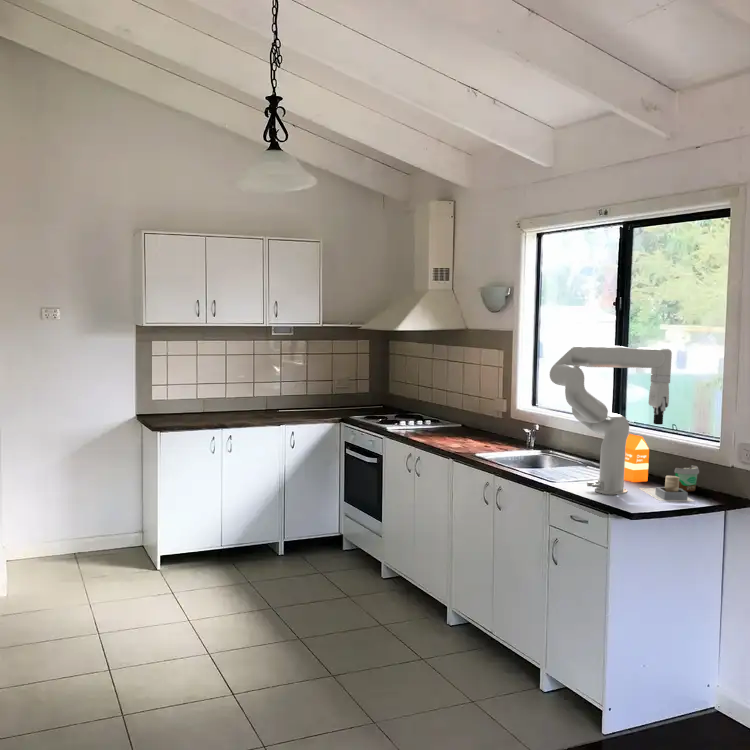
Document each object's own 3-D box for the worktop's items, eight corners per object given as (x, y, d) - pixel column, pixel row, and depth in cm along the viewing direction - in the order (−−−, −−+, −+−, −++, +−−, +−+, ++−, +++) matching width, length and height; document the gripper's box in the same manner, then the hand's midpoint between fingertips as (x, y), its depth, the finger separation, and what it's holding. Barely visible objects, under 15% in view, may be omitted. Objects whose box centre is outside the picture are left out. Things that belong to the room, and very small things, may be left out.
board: (659, 502, 315) (659, 500, 315) (638, 489, 336) (638, 488, 336) (695, 503, 315) (695, 501, 315) (672, 490, 337) (672, 488, 337)
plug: (667, 498, 318) (668, 478, 317) (662, 495, 323) (663, 475, 322) (680, 498, 318) (681, 478, 318) (674, 495, 323) (676, 475, 323)
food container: (686, 495, 329) (688, 470, 328) (673, 492, 334) (674, 467, 333) (704, 491, 336) (705, 467, 336) (690, 488, 341) (692, 465, 341)
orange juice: (632, 484, 348) (635, 437, 346) (619, 479, 356) (621, 433, 355) (647, 483, 351) (650, 436, 349) (634, 478, 359) (636, 433, 357)
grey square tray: (664, 499, 316) (664, 492, 316) (655, 494, 325) (655, 487, 325) (687, 500, 316) (687, 492, 316) (677, 494, 325) (678, 487, 325)
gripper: (644, 377, 341) (642, 421, 343) (658, 380, 326) (655, 426, 328) (662, 377, 342) (660, 421, 343) (677, 381, 327) (674, 427, 328)
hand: (658, 424), depth 336 cm, fingers closed
